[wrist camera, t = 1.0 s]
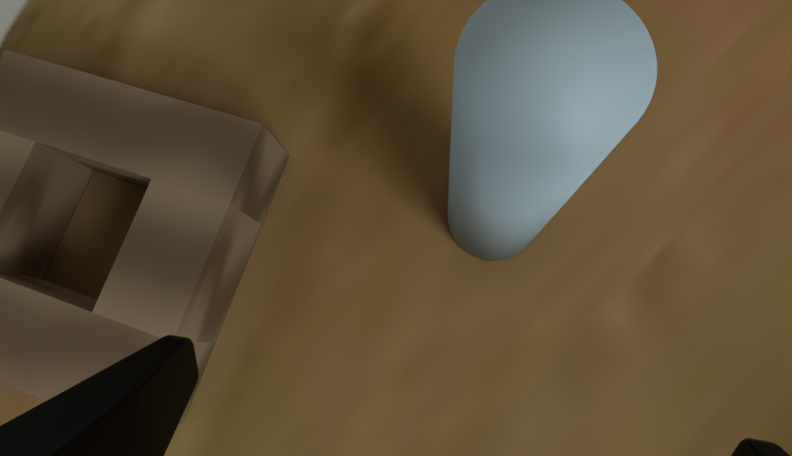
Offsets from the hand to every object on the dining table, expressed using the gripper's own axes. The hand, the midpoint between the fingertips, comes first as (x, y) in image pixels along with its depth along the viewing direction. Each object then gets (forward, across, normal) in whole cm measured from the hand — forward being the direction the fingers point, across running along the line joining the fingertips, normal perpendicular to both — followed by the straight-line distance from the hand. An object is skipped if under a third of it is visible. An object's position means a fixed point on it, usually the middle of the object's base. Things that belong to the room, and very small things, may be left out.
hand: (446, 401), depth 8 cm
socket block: (+14, +18, +8) cm, 24 cm away
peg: (+16, -1, +5) cm, 17 cm away
